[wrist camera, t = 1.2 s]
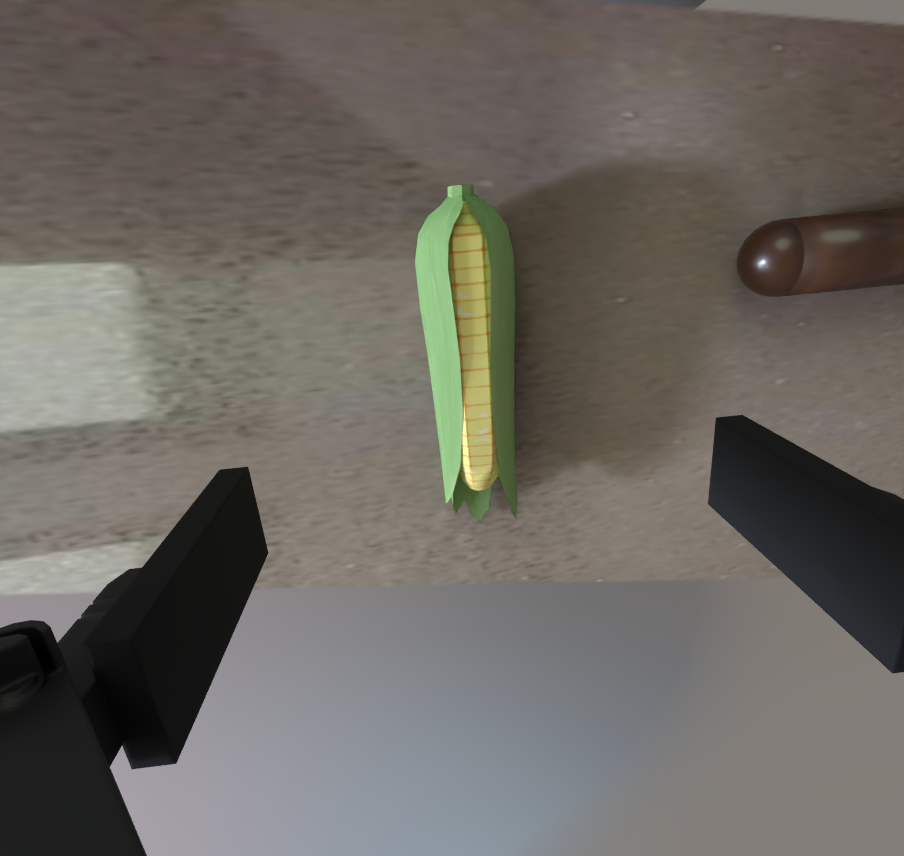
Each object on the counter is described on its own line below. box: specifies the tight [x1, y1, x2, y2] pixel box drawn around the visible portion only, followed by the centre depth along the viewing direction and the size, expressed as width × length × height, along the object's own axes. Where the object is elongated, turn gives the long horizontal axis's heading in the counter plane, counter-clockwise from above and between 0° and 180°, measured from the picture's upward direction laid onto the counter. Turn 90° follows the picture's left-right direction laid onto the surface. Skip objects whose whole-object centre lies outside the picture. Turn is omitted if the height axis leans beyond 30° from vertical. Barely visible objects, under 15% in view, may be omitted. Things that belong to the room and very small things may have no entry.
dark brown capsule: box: [737, 208, 904, 297], centre depth 29 cm, size 14×4×4 cm, turn 95°
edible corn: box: [415, 185, 517, 522], centre depth 30 cm, size 5×20×5 cm, turn 5°
